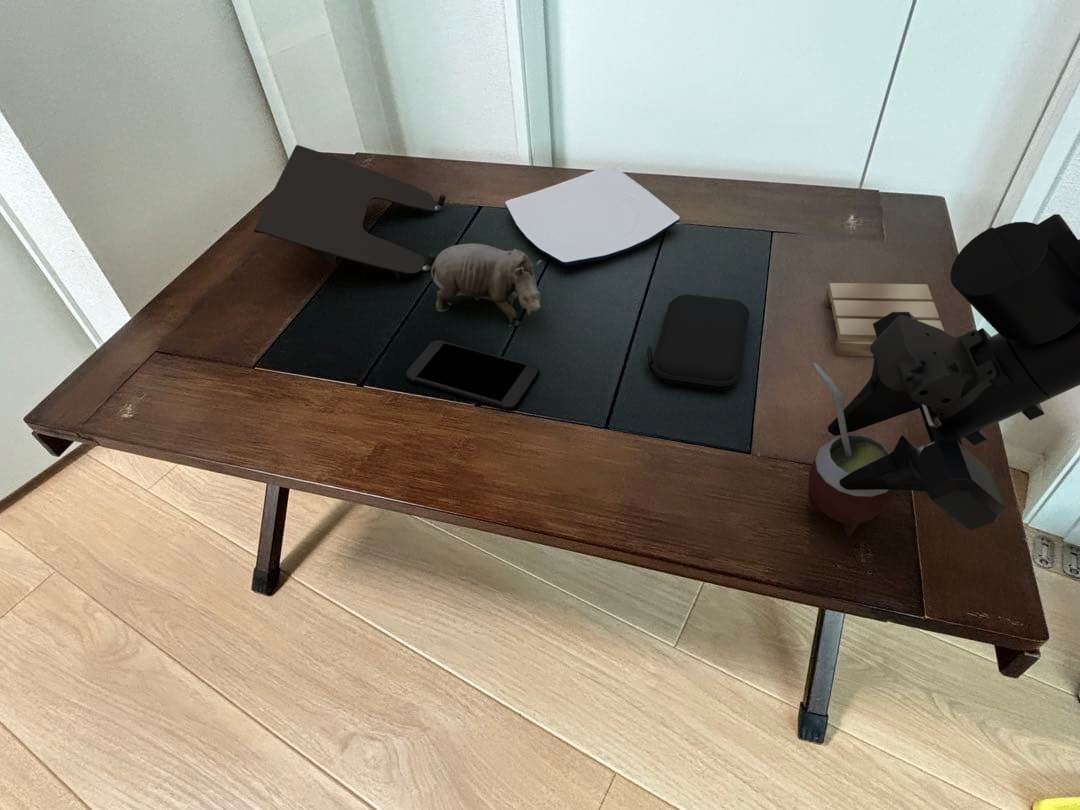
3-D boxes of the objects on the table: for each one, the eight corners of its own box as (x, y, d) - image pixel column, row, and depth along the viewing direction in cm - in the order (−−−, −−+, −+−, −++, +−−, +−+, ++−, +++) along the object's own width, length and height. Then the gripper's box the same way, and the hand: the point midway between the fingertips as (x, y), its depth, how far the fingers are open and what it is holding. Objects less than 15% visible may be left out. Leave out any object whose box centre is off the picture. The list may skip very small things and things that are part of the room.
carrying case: (662, 304, 91) (639, 385, 81) (663, 285, 88) (639, 365, 79) (749, 314, 88) (735, 399, 78) (752, 295, 86) (738, 379, 76)
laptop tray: (415, 321, 102) (433, 271, 96) (248, 272, 96) (255, 216, 90) (432, 231, 118) (448, 183, 112) (289, 184, 112) (298, 131, 106)
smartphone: (434, 341, 89) (433, 335, 89) (542, 370, 84) (542, 364, 83) (402, 380, 85) (400, 375, 84) (514, 414, 80) (513, 408, 79)
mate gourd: (891, 547, 63) (937, 426, 53) (797, 543, 64) (825, 424, 54) (874, 483, 68) (913, 361, 58) (787, 480, 70) (811, 361, 59)
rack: (919, 302, 87) (926, 282, 85) (938, 358, 80) (947, 338, 78) (824, 300, 88) (829, 281, 86) (835, 355, 82) (840, 335, 80)
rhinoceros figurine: (443, 258, 97) (480, 193, 85) (523, 319, 99) (571, 265, 87) (412, 295, 94) (446, 233, 81) (495, 359, 95) (542, 308, 83)
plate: (689, 235, 101) (691, 218, 99) (562, 285, 95) (560, 268, 93) (614, 175, 114) (613, 159, 112) (498, 216, 108) (495, 200, 106)
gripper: (931, 224, 54) (763, 335, 64) (1015, 402, 42) (790, 506, 51) (1006, 304, 59) (838, 396, 68) (1102, 487, 46) (880, 569, 56)
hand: (836, 457), depth 61 cm, fingers closed on mate gourd, 5 cm apart
